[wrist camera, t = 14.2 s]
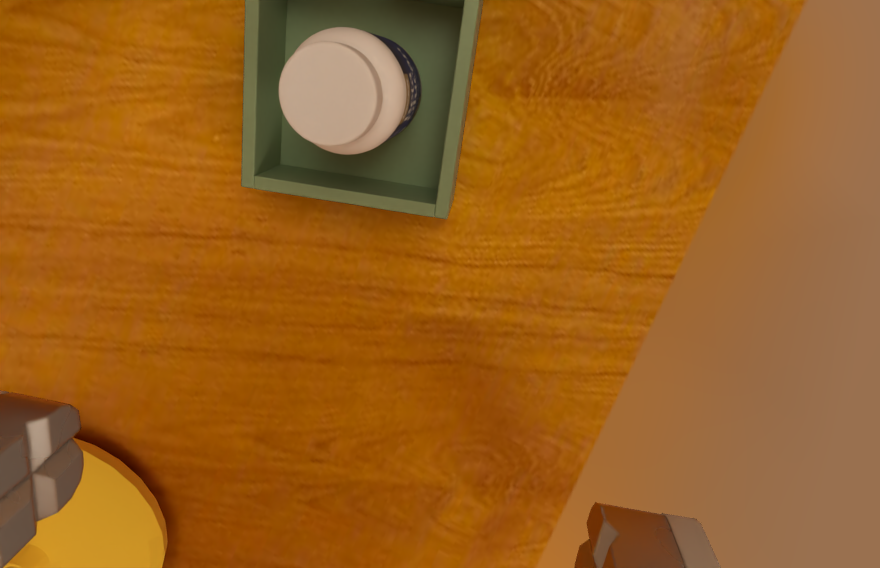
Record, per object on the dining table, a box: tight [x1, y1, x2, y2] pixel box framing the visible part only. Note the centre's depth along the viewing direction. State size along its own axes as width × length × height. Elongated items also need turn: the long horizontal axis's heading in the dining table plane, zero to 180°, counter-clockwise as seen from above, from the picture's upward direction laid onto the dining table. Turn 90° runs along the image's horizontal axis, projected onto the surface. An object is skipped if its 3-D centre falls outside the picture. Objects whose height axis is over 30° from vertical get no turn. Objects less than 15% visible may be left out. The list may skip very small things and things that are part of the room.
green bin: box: [241, 0, 483, 219], centre depth 31 cm, size 11×11×5 cm
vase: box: [3, 438, 168, 568], centre depth 42 cm, size 16×16×7 cm
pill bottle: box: [279, 27, 422, 155], centre depth 28 cm, size 5×5×10 cm
